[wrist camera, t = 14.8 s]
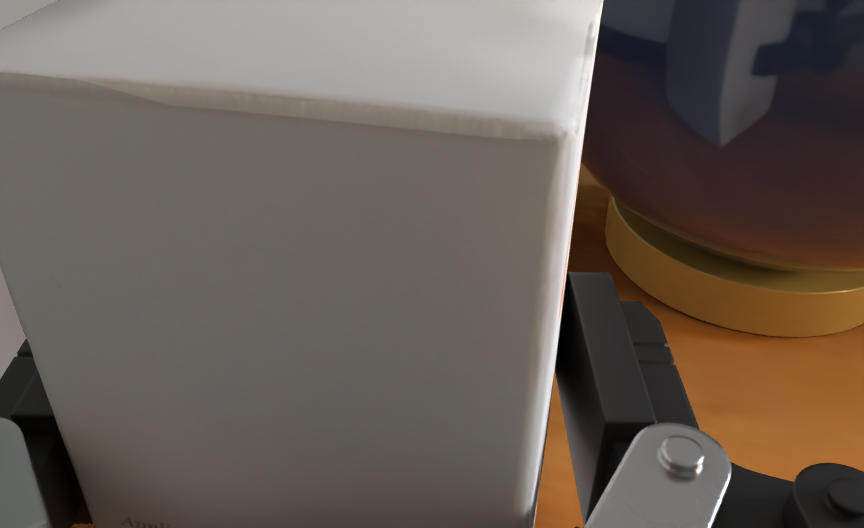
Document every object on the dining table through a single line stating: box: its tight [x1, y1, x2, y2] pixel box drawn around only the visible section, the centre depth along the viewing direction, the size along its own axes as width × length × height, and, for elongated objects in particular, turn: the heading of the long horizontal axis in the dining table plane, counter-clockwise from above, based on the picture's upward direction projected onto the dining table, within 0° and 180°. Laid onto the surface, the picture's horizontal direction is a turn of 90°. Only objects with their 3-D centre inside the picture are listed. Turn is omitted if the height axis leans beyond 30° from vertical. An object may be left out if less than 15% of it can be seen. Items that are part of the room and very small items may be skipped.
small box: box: [0, 0, 604, 528], centre depth 14 cm, size 8×6×13 cm
